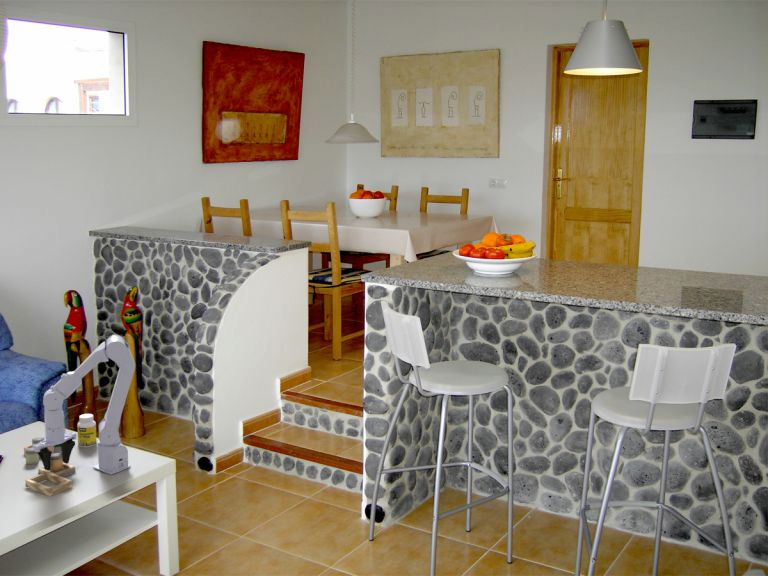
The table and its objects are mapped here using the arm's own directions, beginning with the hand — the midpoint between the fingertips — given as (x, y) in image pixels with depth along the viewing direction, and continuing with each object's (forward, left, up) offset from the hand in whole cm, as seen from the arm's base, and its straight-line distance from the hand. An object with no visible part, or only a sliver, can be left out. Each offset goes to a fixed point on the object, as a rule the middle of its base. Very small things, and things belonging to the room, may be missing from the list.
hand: (56, 466), depth 267 cm
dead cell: (+18, -6, -2) cm, 19 cm away
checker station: (-5, +4, -2) cm, 6 cm away
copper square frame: (+18, -6, -2) cm, 19 cm away
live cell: (0, 0, -1) cm, 1 cm away
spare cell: (+13, 0, -2) cm, 13 cm away
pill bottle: (+12, -21, -3) cm, 24 cm away
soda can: (+20, -15, -3) cm, 25 cm away
